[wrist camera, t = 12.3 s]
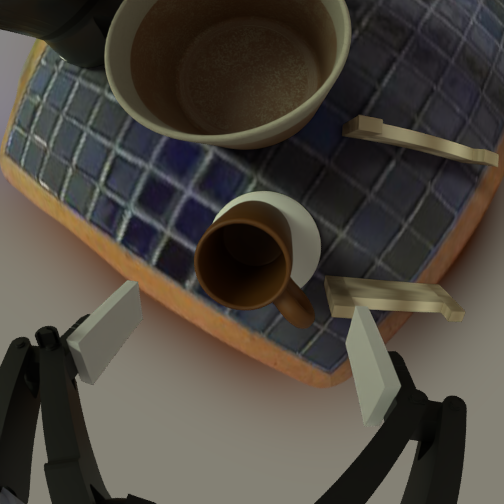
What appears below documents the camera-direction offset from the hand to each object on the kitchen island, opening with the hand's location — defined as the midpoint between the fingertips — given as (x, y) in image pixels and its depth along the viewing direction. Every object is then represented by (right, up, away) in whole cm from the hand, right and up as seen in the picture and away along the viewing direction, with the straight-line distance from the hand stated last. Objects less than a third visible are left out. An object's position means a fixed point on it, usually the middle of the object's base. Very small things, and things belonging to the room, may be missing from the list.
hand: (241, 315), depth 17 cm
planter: (0, +22, +9) cm, 24 cm away
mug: (+2, +4, +14) cm, 15 cm away
